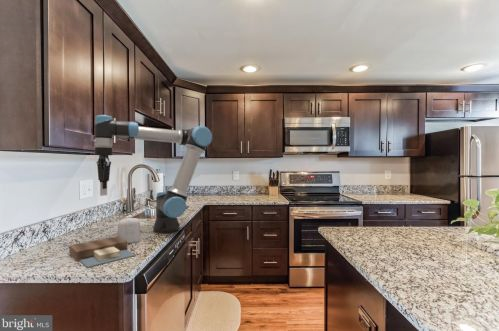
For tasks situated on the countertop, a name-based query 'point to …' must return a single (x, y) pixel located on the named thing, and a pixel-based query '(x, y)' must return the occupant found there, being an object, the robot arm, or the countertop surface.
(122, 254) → the rubber mat
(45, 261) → the countertop surface
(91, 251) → the board
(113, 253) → the birch tile
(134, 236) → the photo printer
